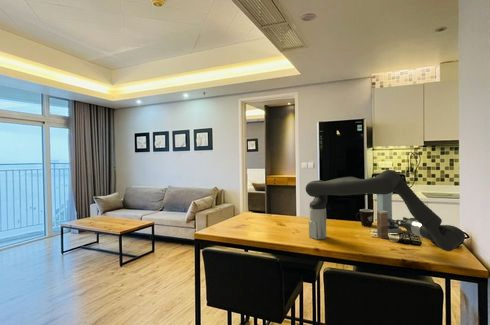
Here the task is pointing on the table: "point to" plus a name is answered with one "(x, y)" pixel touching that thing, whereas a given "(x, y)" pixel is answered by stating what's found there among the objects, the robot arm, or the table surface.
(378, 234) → the rail block
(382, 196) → the post
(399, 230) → the bracket
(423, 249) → the table surface
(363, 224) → the coffee mug
